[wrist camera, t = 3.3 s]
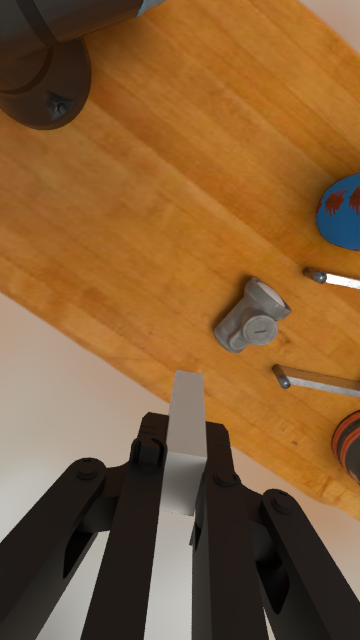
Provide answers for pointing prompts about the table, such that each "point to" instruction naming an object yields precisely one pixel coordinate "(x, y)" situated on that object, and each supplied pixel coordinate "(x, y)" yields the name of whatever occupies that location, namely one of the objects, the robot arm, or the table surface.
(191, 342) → the table surface
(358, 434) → the beer stein
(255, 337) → the pipe fitting
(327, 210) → the thermos
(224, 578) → the robot arm
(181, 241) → the table surface
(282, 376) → the grey metal frame
